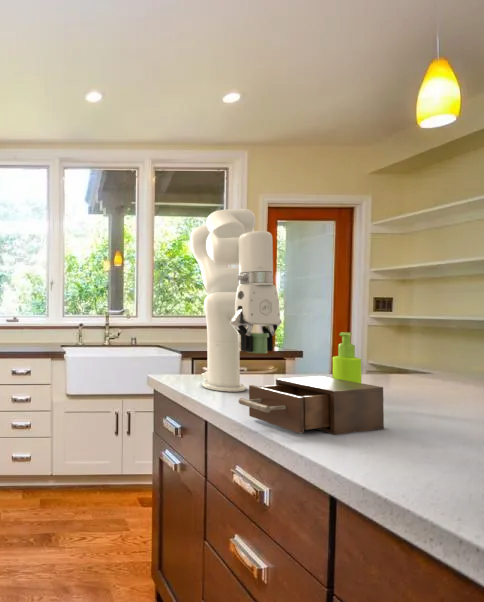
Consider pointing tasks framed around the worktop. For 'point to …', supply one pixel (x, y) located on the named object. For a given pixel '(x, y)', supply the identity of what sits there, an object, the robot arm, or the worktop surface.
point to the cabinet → (346, 403)
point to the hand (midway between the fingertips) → (256, 350)
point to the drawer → (289, 407)
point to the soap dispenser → (346, 361)
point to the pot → (259, 342)
